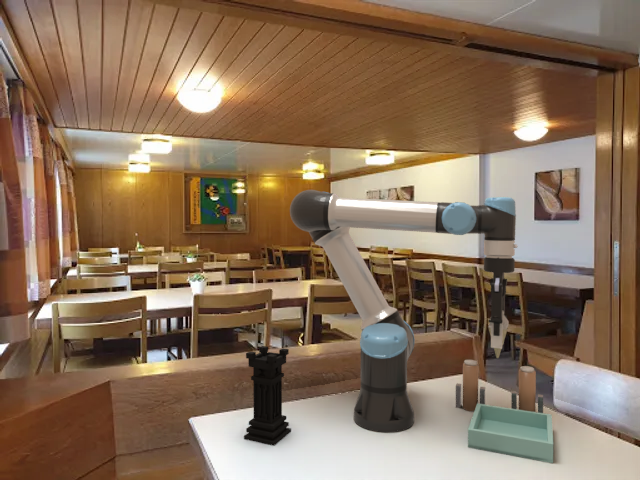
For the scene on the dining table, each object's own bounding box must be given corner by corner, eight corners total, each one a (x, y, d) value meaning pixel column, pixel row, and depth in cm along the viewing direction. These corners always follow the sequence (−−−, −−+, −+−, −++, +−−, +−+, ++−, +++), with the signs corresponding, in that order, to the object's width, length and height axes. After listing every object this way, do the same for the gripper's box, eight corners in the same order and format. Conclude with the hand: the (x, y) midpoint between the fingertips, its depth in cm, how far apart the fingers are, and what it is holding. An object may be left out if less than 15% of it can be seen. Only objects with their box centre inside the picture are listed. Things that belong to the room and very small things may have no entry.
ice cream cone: (511, 360, 122) (511, 303, 121) (491, 360, 122) (492, 303, 121) (503, 354, 127) (504, 299, 126) (484, 355, 127) (485, 299, 126)
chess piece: (291, 431, 113) (290, 348, 112) (274, 445, 106) (273, 357, 105) (262, 425, 116) (262, 345, 116) (244, 439, 109) (243, 353, 108)
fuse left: (461, 409, 126) (461, 362, 126) (463, 404, 130) (464, 358, 129) (477, 412, 125) (477, 364, 124) (478, 407, 128) (479, 360, 128)
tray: (467, 447, 105) (467, 429, 105) (477, 418, 120) (477, 403, 120) (553, 463, 98) (553, 444, 98) (551, 431, 113) (551, 414, 113)
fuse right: (518, 418, 120) (518, 369, 120) (518, 413, 124) (518, 364, 124) (535, 421, 119) (535, 371, 118) (535, 415, 122) (535, 366, 122)
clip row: (455, 407, 128) (455, 385, 128) (456, 404, 130) (456, 383, 129) (542, 421, 119) (543, 397, 119) (542, 418, 121) (543, 395, 120)
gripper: (512, 259, 113) (510, 355, 114) (516, 255, 130) (514, 339, 130) (480, 258, 116) (478, 351, 117) (487, 254, 133) (485, 336, 134)
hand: (497, 345), depth 124 cm, fingers closed on ice cream cone, 5 cm apart
